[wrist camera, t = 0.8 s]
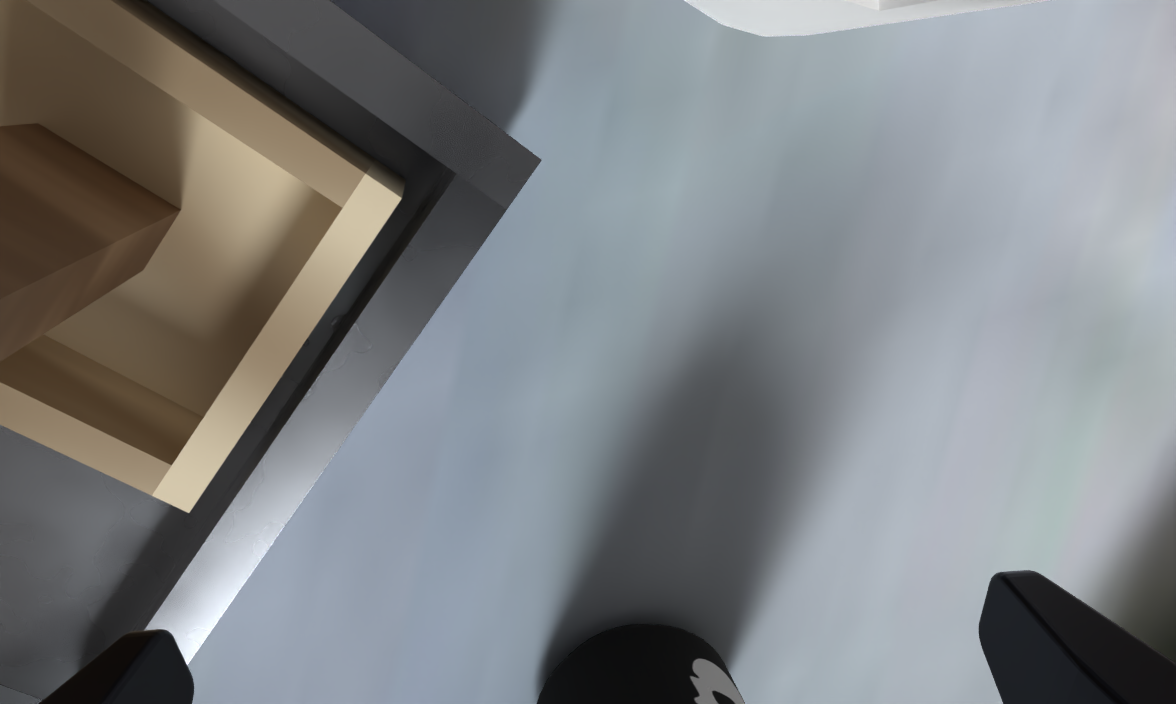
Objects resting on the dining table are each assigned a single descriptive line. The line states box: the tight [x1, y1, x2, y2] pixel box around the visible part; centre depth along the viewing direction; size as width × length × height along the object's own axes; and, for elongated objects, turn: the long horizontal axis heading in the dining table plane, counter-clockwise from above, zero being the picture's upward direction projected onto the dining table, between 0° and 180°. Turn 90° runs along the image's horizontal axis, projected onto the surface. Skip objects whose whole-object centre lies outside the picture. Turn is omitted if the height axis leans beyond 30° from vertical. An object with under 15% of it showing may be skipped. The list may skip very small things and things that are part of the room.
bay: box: [0, 0, 541, 700], centre depth 17 cm, size 19×14×4 cm
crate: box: [0, 0, 406, 513], centre depth 13 cm, size 8×10×8 cm
